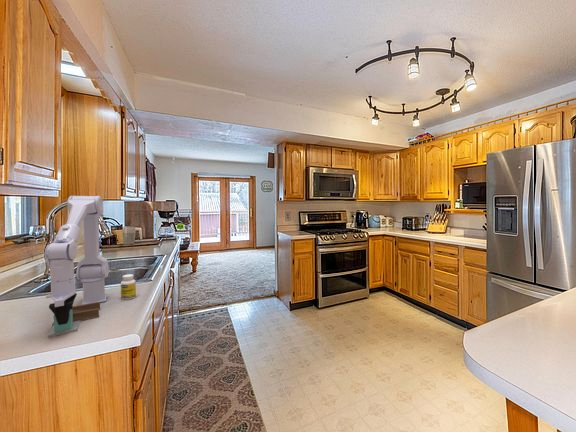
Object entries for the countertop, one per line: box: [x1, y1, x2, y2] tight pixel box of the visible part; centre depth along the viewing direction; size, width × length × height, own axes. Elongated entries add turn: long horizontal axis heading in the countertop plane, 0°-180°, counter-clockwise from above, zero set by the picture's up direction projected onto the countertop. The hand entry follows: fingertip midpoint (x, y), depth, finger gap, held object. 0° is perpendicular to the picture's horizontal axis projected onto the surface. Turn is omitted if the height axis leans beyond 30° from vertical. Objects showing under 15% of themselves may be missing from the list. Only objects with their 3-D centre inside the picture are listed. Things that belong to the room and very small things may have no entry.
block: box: [53, 309, 73, 332], centre depth 81 cm, size 4×4×5 cm
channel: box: [72, 302, 101, 322], centre depth 91 cm, size 8×9×3 cm
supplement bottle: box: [120, 273, 137, 301], centre depth 108 cm, size 5×5×10 cm
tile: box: [47, 320, 81, 338], centre depth 81 cm, size 7×7×1 cm
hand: (64, 320), depth 81 cm, fingers open, 5 cm apart
